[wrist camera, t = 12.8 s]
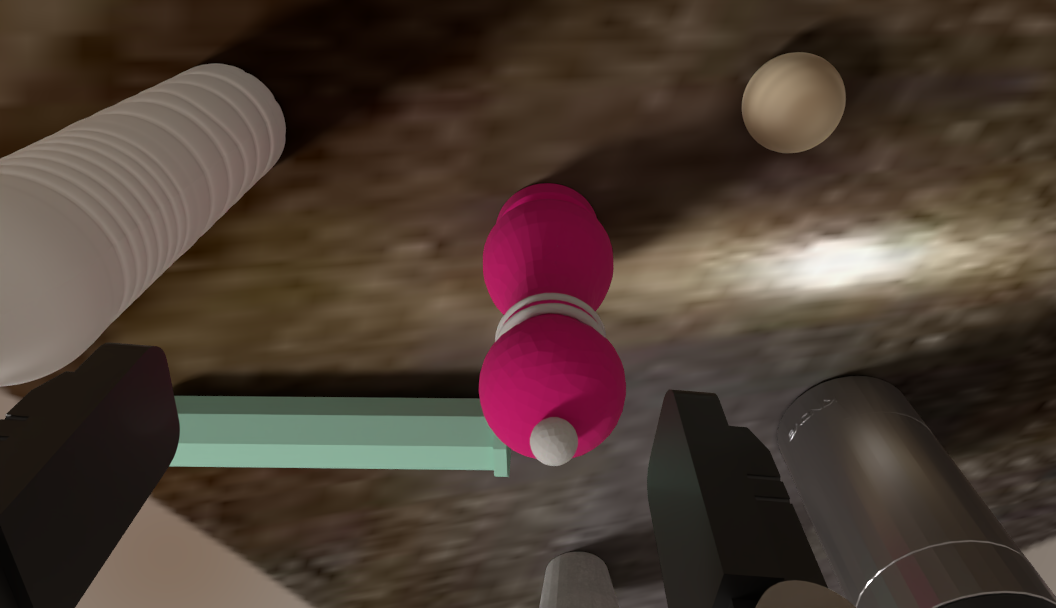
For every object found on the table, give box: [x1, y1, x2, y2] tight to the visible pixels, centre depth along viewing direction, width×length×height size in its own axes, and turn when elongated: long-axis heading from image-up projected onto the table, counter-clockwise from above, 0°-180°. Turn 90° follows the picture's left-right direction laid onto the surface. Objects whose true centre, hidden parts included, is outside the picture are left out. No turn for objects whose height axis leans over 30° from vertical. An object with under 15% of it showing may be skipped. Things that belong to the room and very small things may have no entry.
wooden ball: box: [742, 52, 846, 153], centre depth 36 cm, size 5×5×5 cm
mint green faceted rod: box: [169, 396, 511, 477], centre depth 47 cm, size 6×6×25 cm
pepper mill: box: [479, 183, 626, 466], centre depth 33 cm, size 7×7×20 cm
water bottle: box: [0, 63, 286, 386], centre depth 29 cm, size 9×6×25 cm
